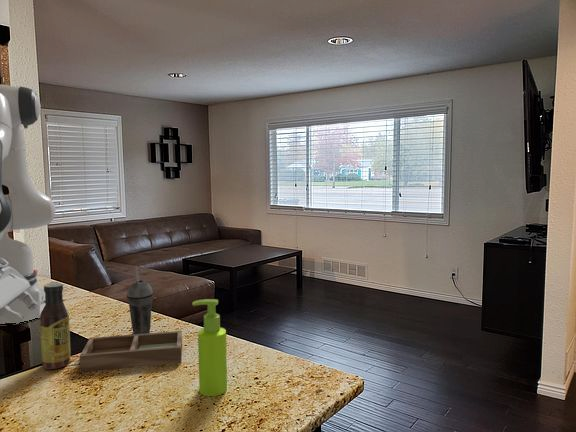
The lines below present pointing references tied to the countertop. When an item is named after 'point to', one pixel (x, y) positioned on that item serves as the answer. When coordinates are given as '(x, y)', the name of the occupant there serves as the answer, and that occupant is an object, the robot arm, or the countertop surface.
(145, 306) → the beverage cup
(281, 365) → the countertop surface
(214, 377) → the soap dispenser
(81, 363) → the caddy
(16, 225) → the robot arm
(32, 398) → the countertop surface
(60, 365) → the sauce bottle
